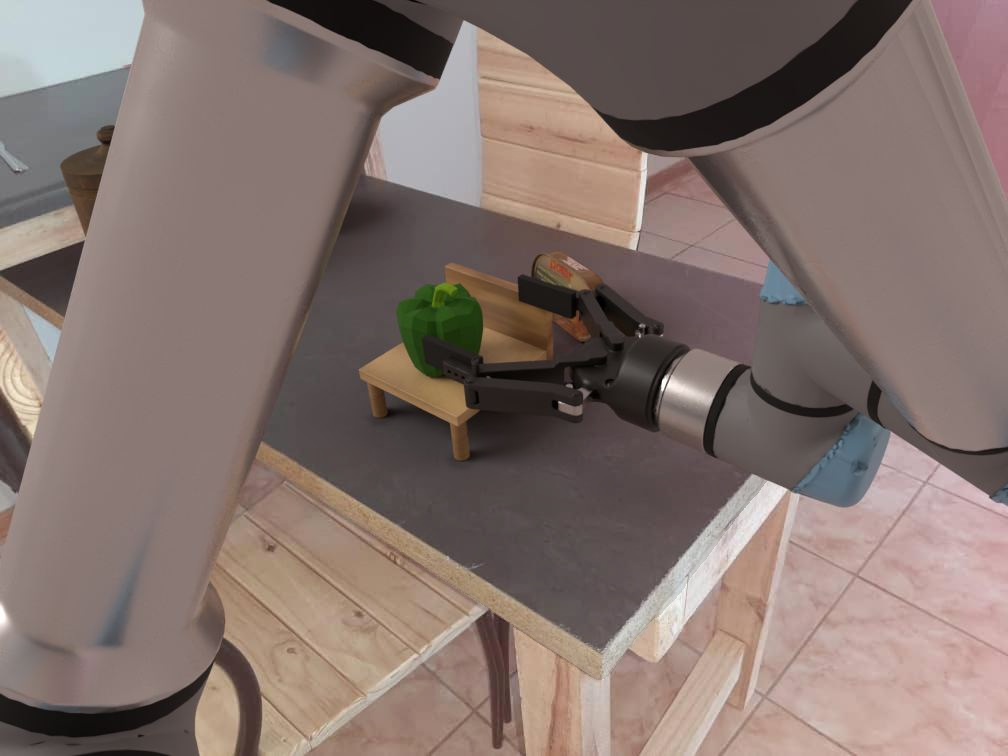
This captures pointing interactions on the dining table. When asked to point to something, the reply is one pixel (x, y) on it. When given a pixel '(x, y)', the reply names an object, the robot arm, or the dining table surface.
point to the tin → (566, 284)
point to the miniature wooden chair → (505, 338)
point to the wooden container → (87, 175)
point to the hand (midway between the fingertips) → (475, 316)
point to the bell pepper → (439, 321)
